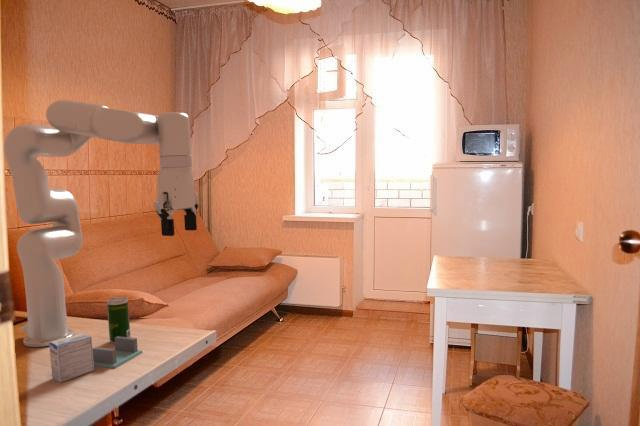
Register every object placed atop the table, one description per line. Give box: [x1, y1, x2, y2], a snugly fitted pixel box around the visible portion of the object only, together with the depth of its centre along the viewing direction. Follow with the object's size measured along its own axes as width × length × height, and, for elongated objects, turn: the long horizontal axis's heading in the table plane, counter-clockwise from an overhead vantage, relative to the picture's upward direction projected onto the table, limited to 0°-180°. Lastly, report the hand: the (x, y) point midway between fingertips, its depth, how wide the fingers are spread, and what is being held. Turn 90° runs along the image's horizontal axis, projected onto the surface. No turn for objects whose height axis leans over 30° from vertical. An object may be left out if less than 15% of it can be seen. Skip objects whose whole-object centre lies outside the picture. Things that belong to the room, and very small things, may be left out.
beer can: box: [106, 295, 131, 345], centre depth 135 cm, size 5×5×12 cm
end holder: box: [92, 336, 143, 369], centre depth 123 cm, size 8×10×4 cm
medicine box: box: [48, 332, 95, 383], centre depth 113 cm, size 8×4×9 cm, turn 141°
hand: (180, 232), depth 121 cm, fingers open, 9 cm apart
